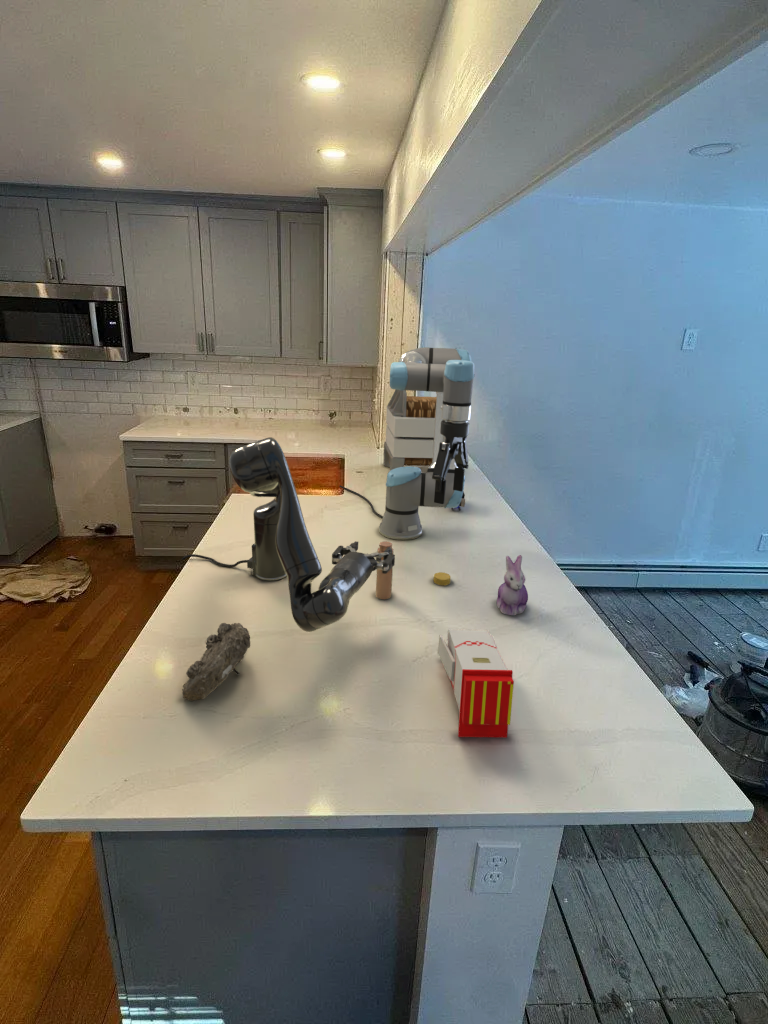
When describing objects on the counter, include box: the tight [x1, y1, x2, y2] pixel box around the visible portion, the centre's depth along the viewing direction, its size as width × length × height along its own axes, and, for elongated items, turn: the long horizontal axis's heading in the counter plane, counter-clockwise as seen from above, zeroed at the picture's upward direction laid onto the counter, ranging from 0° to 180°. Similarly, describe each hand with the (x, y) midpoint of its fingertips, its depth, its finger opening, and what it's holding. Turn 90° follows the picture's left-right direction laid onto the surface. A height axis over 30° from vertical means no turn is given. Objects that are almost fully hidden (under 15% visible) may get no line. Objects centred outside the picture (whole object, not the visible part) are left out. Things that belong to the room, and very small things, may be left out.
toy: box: [437, 628, 515, 738], centre depth 117 cm, size 12×13×30 cm
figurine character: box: [450, 490, 466, 511], centre depth 229 cm, size 7×8×15 cm
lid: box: [432, 571, 452, 587], centre depth 166 cm, size 5×5×2 cm
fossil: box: [181, 622, 251, 702], centre depth 119 cm, size 22×10×15 cm
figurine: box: [496, 554, 529, 616], centre depth 150 cm, size 9×10×15 cm
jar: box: [375, 541, 395, 600], centre depth 154 cm, size 4×4×16 cm
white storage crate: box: [383, 389, 436, 472], centre depth 268 cm, size 34×33×41 cm
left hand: (373, 547), depth 140 cm, fingers open, 8 cm apart
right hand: (448, 496), depth 158 cm, fingers open, 13 cm apart
